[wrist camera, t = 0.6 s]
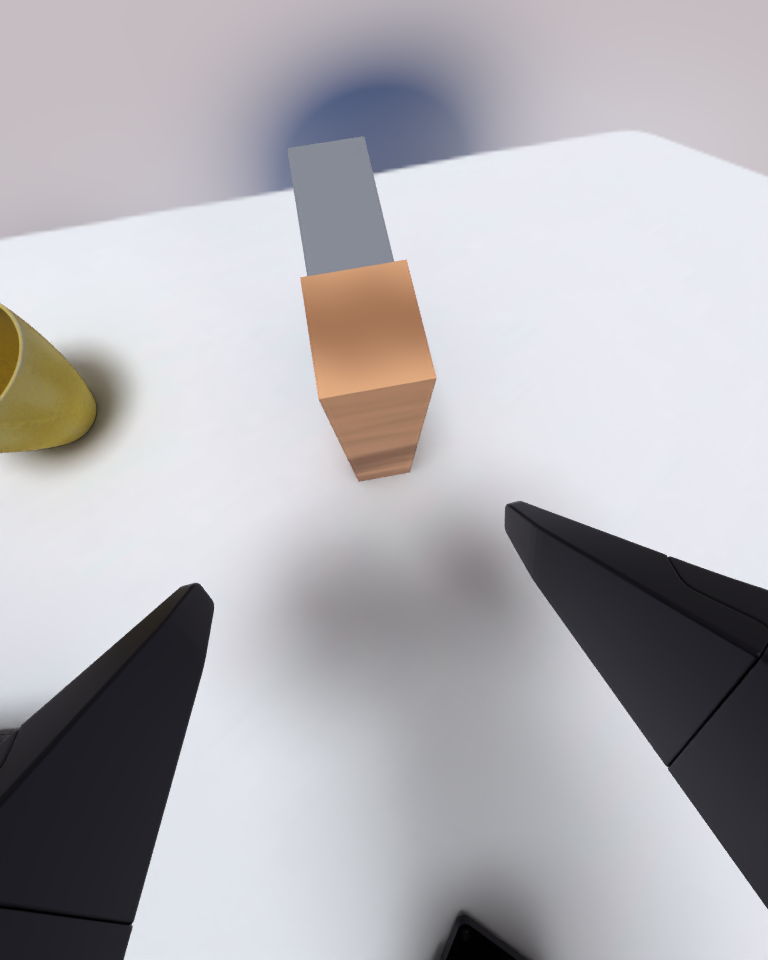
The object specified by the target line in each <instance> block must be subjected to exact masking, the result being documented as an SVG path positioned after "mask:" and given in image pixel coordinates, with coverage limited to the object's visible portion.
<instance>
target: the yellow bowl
mask: <svg viewBox="0 0 768 960" xmlns="http://www.w3.org/2000/svg"><path fill="white" fill-rule="evenodd" d="M96 412H97V409H96V402H95V400H94V398H93V396H92V394H91V392H90V390H89V389H88V387H87V386H86V384H85V382H84V381H83V380H82V378H81V377H80V375H79V374H78V373H77V372H76V370H75V369H74V368H73V367H72V365H71V364H70V363H69V362H68V361H67V360H66V359H65V358H64V356H63V355H62V354H61V353H60V352H59V351H58V350H57V349H56V348H55V347H54V346H53V345H52V344H51V343H50V342H48V341H47V340H46V339H45V338H44V337H43V336H42V335H41V334H40V333H38V332H37V331H36V330H35V329H34V328H33V327H31V326H30V325H29V324H28V323H26V322H25V321H24V320H23V319H21V318H20V317H19V316H17V315H16V314H15V313H13V312H12V311H11V310H9V309H8V308H6V307H5V306H4V305H2V304H1V303H0V453H5V452H21V451H32V450H39V449H46V448H51V447H56V446H61V445H65V444H68V443H71V442H74V441H76V440H77V439H79V438H80V437H82V436H83V435H84V434H85V433H86V432H87V431H88V430H89V429H90V428H91V426H92V424H93V422H94V420H95V417H96Z"/></svg>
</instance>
